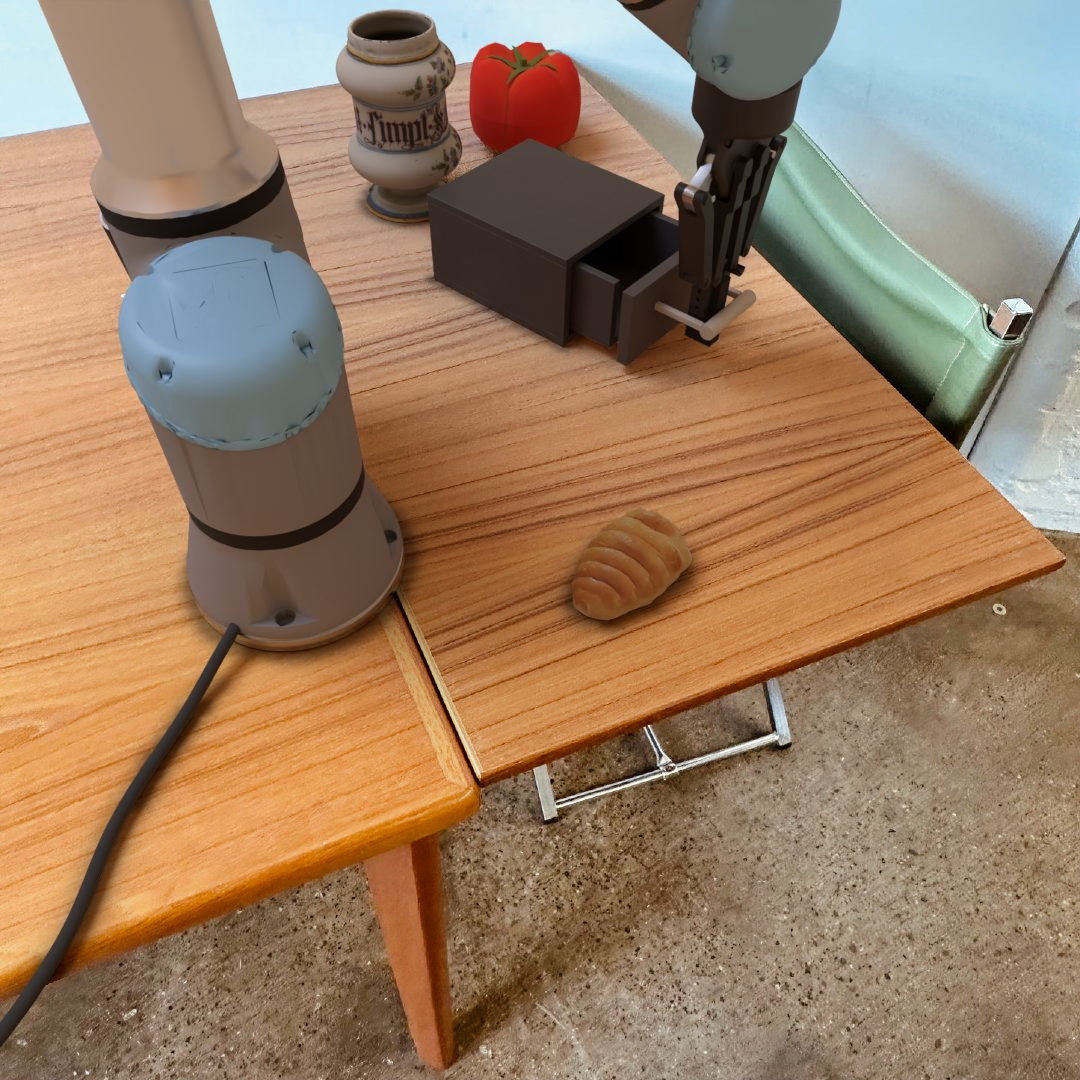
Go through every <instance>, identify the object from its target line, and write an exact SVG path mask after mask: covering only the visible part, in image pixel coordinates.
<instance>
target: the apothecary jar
mask: <svg viewBox="0 0 1080 1080" xmlns="http://www.w3.org/2000/svg"><path fill="white" fill-rule="evenodd" d="M346 33H347V34H346V36H347V39H346V44H345V45H344V46H343V48H341V50H340V52H339V53H338V55H337V58H336V60H335V74H336V77H337V80H338V82H339V84H340V86H341V87H342V88H343V90H345V92H347V93H348V94H349V95H351V99H352V104H353V106H352V107H353V113H354V119H355V128H356V129H355V130H354V132H353V133H352V135H351V136H350V138H349V141H348V145H347V155H348V160H349V163H350V164H351V167H353V169H354V170H355V171H356V173H357V174H359V175H360V176H361V178H363V179H365V180H366V181H368V182H369V183H372V185H370V187H369V189H368V193H369V194H367V196H366V197H365V200H364V201H365V204H366V207H367V209H368V211H369V212H371V213H372V214H373V215H375V216H377V217H379V218H381V219H383V220H386V221H390V222H393V223H394V222H395V223H403V224H404V223H405V224H410V223H419V222H425V221H429V212H428V199H427V194H428V193H430V192H432V191H433V190H435V189H437V188H439V187H441V186H443V185H444V184H446V183H448V182H447V181H446V180H444V179H445V178H447V177H448V176H449V175H450V174H452V173H453V172H454V170H455V169H457V167H458V166H459V164H460V162H461V159H462V155H463V142H462V138H461V136H460V134H459V133H458V131H457V130H456V129H455V127H454V126H453V125H452V124H451V123H450V122H449V115H448V106H447V94H446V89H448V87H449V86H450V85H451V84H452V83H453V81H454V78H455V76H456V72H457V64H456V63H457V62H456V59H455V56H454V54H453V52H452V51H451V49H450V48H449V47H448V45H446V43H444V42H443V41H442V40H441V39H440V38H439V36H438V33H437V25H436V23H435V21H434V19H433V18H432V17H431V16H429V15H427V14H426V13H423V12H420V11H416V10H410V9H403V8H402V9H401V8H400V9H399V8H390V9H381V10H380V9H379V10H374V11H370V12H367V13H364V14H361V15H359V16H358V17H355V18H354V19H353V20H352V21H350V23H349V25H348V27H347V32H346Z"/></svg>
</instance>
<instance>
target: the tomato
mask: <svg viewBox="0 0 1080 1080" xmlns="http://www.w3.org/2000/svg"><path fill="white" fill-rule="evenodd" d="M511 47H512V49H510V48H509V47H508V46H506V45H505V44H503V43H500V42H497V41H495V42H492V43H489V44H486V45H485V46H483V47H481V48H479V49H478V51H477V53H476V55H475V57H474V58H473V60H472V64H471V69H470V75H469V102H468V107H469V109H468V110H469V119H470V124H471V128H472V131H473V133H474V134H475V135H476V136H477V138H478V139H479V141H481V142H482V144H483V145H484V146H486V147H488V148H489V149H492V150H494V151H496V152H499V153H503V152H505V151H507V150H509V149H510V148H512V147H514V146H516V145H518V144H520V143H521V142H523V141H525V140H527V139H529V138H530V139H532V140H535V141H537V142H540V143H542V144H544V145H547V146H549V147H552V148H554V149H557V148H558V147H559V146H562V145H565V144H567V143H569V142H570V141H571V140H573V138H575V135H576V133H577V129H578V127H579V123H580V118H581V109H582V108H581V107H582V86H581V80H580V75H579V72H578V70H577V67H576V65H575V63H574V62H573V60H572V58H571V57H570V55H567V54H564V53H560V50H558V52H556V49H555V50H551V49H547V48H546V47H545V46H544V44H543V42H534V41H524V42H523V43H521V44H519V45H517V46H514V45H511ZM551 52H552V53H553V52H556V53H554V54H552V55H550V53H551Z"/></svg>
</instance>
